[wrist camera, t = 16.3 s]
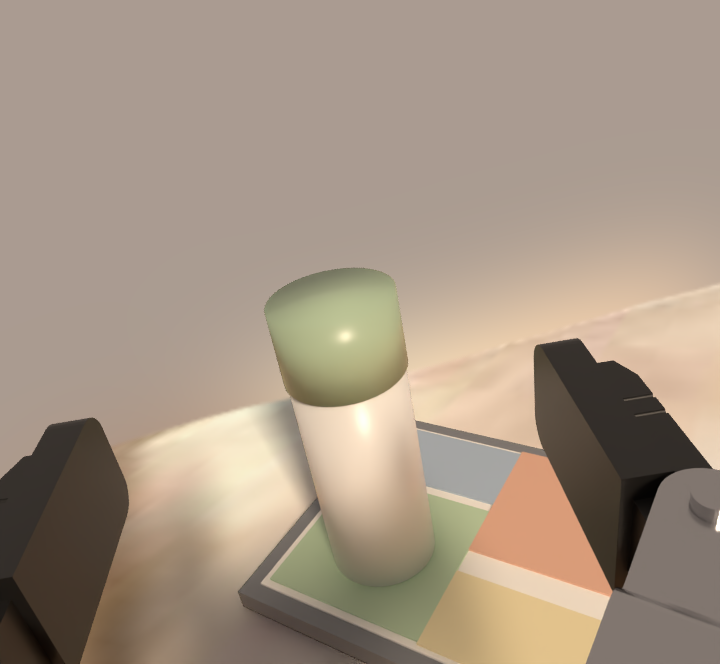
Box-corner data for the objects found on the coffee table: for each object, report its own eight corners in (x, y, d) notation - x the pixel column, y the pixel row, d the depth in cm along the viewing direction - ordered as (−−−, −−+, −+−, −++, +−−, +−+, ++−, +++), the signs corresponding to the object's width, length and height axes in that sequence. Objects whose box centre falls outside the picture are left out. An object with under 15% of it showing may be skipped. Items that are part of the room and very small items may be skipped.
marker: (310, 568, 28) (237, 321, 22) (365, 495, 31) (312, 264, 26) (406, 604, 26) (351, 337, 20) (454, 521, 29) (418, 272, 23)
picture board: (243, 605, 28) (236, 588, 28) (389, 426, 37) (387, 411, 37) (643, 791, 20) (645, 771, 19) (705, 502, 29) (707, 483, 29)
